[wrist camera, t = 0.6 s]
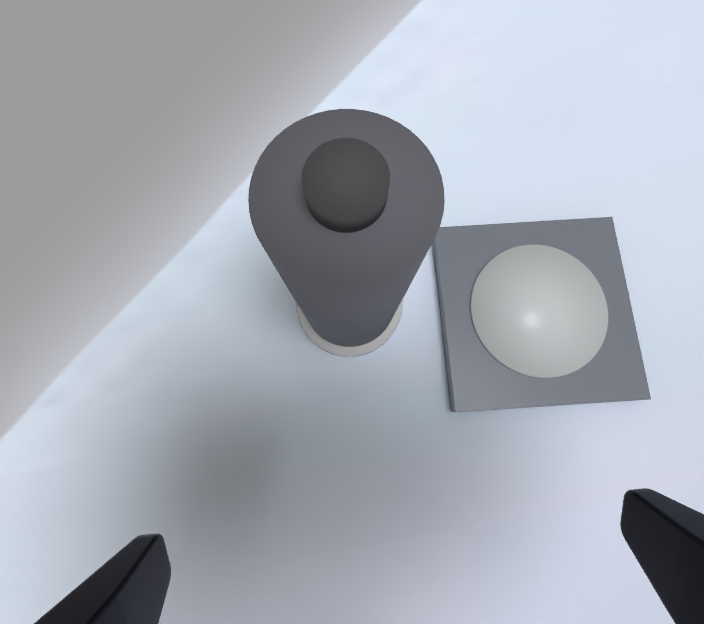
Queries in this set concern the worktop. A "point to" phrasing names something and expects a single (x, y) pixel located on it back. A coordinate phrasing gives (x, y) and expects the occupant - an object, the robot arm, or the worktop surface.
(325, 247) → the plug
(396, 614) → the worktop surface
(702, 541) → the robot arm
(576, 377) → the socket
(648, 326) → the worktop surface
